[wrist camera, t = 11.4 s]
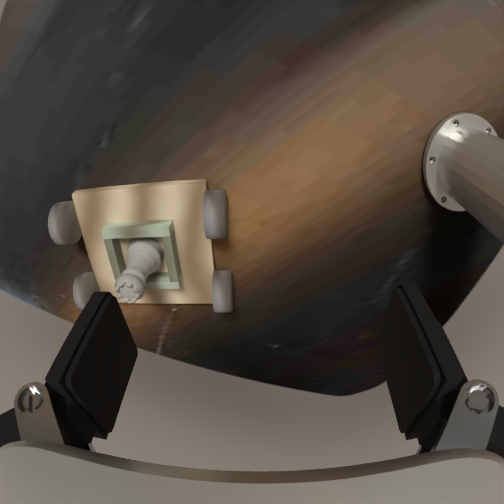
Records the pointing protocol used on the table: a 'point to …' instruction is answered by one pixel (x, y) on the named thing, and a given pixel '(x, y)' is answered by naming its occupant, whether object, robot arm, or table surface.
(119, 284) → the rook chess piece
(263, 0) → the table surface
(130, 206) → the car chassis
